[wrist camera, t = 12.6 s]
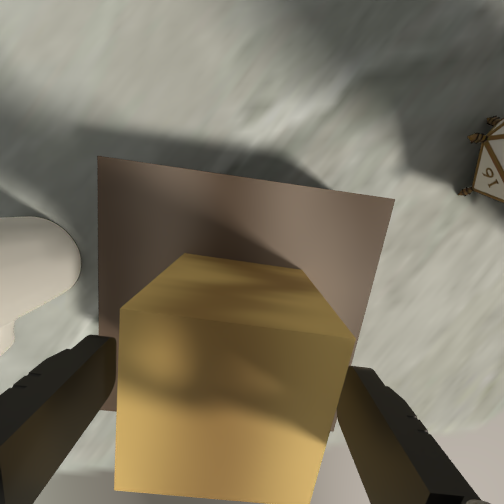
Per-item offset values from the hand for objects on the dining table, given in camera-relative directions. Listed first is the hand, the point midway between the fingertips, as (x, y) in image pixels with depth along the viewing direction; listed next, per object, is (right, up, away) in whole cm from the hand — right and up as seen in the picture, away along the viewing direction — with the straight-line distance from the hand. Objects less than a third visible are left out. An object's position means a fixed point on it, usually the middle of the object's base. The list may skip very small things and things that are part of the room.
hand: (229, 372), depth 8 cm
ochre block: (0, +1, +4) cm, 4 cm away
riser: (0, +2, +10) cm, 10 cm away
